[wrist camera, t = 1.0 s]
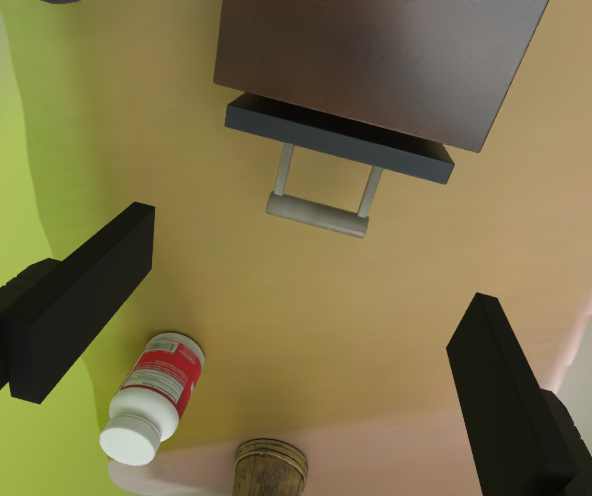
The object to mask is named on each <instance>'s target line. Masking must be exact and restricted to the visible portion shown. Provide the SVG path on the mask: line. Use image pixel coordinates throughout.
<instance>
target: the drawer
mask: <svg viewBox="0 0 592 496" xmlns="http://www.w3.org/2000/svg"><path fill="white" fill-rule="evenodd" d="M225 127H228V128H232V129H236V130H239V131H243V132H247V133H251V134H255V135H258V136H262V137H266V138H270V139H274V140H277V141H281V142H284V146H283V151H282V156H281V160H280V165H279V170H278V175H277V179H276V184H275V189H274V191H272V192H271V193H270V196H269V200H268V203H267V208H266V213H267V214H271V215H275V216H278V217H282V218H286V219H290V220H293V221H297V222H301V223H305V224H308V225H312V226H316V227H320V228H323V229H327V230H331V231H335V232H339V233H342V234H346V235H350V236H354V237H357V238H361V239H362V238H363V237H364V236H365V233H366V230H367V227H368V222H369V217H368V216H367V214H368V212H369V209H370V206H371V203H372V200H373V197H374V194H375V191H376V188H377V185H378V183H379V180H380V177H381V174H382V171H383V168H384V169H387V170H391V171H395V172H399V173H403V174H406V175H410V176H414V177H418V178H422V179H425V180H429V181H433V182H437V183H440V184H444V185H445V184H447V182H448V179H449V177H450V175H451V172H452V170H453V168H454V165H455V164H454V162H453V161H452V159H451V157H450V156H449V154H448V152H447V151H446V149H445V148H444V146H443V144H442V143H439V142H435V141H431V140H427V139H423V138H420V137H416V136H412V135H408V134H404V133H400V132H397V131H393V130H389V129H385V128H381V127H378V126H374V125H370V124H366V123H362V122H359V121H355V120H351V119H347V118H343V117H340V116H336V115H332V114H328V113H324V112H321V111H317V110H313V109H309V108H305V107H302V106H298V105H294V104H290V103H286V102H283V101H279V100H275V99H271V98H267V97H263V96H260V95H256V94H252V93H248V92H245V93H244V94H242V95H241V96H239V97H238V98H236V99H235V100H234V101H232V102H231V103H229V104H228V105H227V111H226V118H225ZM295 145H296V146H300V147H304V148H308V149H312V150H315V151H319V152H323V153H327V154H330V155H334V156H338V157H342V158H346V159H349V160H353V161H357V162H361V163H365V164H368V165H372V169H371V172H370V175H369V178H368V182H367V185H366V188H365V191H364V194H363V197H362V200H361V203H360V206H359V209H358V212H357V213H354V212H350V211H346V210H342V209H339V208H335V207H331V206H327V205H323V204H320V203H316V202H312V201H308V200H305V199H301V198H297V197H293V196H289V195H286V194H284V190H285V186H286V181H287V177H288V172H289V168H290V164H291V159H292V155H293V150H294V146H295Z"/></svg>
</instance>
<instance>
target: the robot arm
mask: <svg viewBox="0 0 592 496" xmlns="http://www.w3.org/2000/svg"><path fill="white" fill-rule="evenodd" d="M154 220H155V207H154V206H150V205H146V204H143V203H139V202H134V203H132V204H131V205H130V206H129V207H127V208H126V209H125V210H124V211H123V212H121V213H120V214H119V215H118V216H117V217H115V218H114V219H113V220H112V221H110V222H109V223H108V224H107V225H106V226H104V227H103V228H102V229H101V230H100V231H98V232H97V233H96V234H95V235H93V236H92V237H91V238H90V239H89V240H87V241H86V242H85V243H84V244H83V245H81V246H80V247H79V248H78V249H76V250H75V251H74V252H73V253H72V254H70V255H69V256H68V257H67V258H66V259H64V260H63V261H58V260H55V259H51V258H47V259H45V260H42V261H40V262H37V263H35V264H32V265H30V266H28V267H27V268H26V269H25V270H23V271H22V272H21V273H19V274H18V275H17V277H14V278H13V279H11V280H10V281H9V282H7V283H6V285H5V286H4V285H3V286H2V287H1V288H0V390H1V389H2V388H3V387H4V386H5V384H7V383H8V382H9V386H10V392H11V397H15V398H18V399H22V400H25V401H29V402H33V403H37V404H41V403H42V401H43V400H44V399H45V398H46V397H47V395H48V394H49V393H50V392H51V391H52V389H53V388H54V387H55V386H56V384H57V383H58V382H59V381H60V380H61V378H62V377H63V376H64V375H65V373H66V372H67V371H68V370H69V369H70V367H71V366H72V365H73V364H74V363H75V361H76V360H77V359H78V358H79V357H80V355H81V354H82V353H83V352H84V351H85V349H86V348H87V347H88V346H89V344H90V343H91V342H92V341H93V340H94V338H95V337H96V336H97V335H98V334H99V332H100V331H101V330H102V329H103V328H104V326H105V325H106V324H107V323H108V321H109V320H110V319H111V318H112V317H113V315H114V314H115V313H116V312H117V311H118V309H119V308H120V307H121V306H122V304H123V303H124V302H125V301H126V300H127V298H128V297H129V296H130V295H131V294H132V292H133V291H134V290H135V289H136V288H137V286H138V285H139V284H140V283H141V281H142V280H143V279H144V278H145V277H146V275H147V274H148V273H149V272H150V271H151V269H152V253H153V237H154ZM446 350H447V354H448V358H449V362H450V366H451V370H452V374H453V378H454V382H455V386H456V390H457V394H458V398H459V402H460V406H461V410H462V414H463V418H464V422H465V426H466V430H467V434H468V438H469V442H470V446H471V450H472V454H473V458H474V462H475V466H476V470H477V474H478V478H479V482H480V486H481V490H482V494H483V496H592V457H591V455H590V453H589V451H588V449H587V447H586V445H585V443H584V441H583V440H582V439H581V436H580V433H579V432H578V430H577V428H576V426H574V422H573V420H572V418H571V416H570V414H569V412H568V410H567V408H566V407H565V406H564V405H563V403H562V402H561V401H560V400H559V399H558V398H557V397H556V396H555V394H554V393H553V392H552V391H548V390H545V389H541V388H540V387H539V385H538V382H537V380H536V378H535V376H534V374H533V372H532V370H531V368H530V366H529V364H528V361H527V359H526V357H525V355H524V353H523V351H522V349H521V347H520V345H519V342H518V340H517V338H516V336H515V334H514V332H513V330H512V328H511V326H510V324H509V321H508V319H507V317H506V315H505V313H504V311H503V309H502V307H501V305H500V303H499V300H498V298H496V297H492V296H489V295H485V294H481V293H477V292H476V294H475V296H474V298H473V299H472V301H471V303H470V305H469V307H468V309H467V310H466V312H465V314H464V316H463V318H462V320H461V321H460V323H459V325H458V327H457V329H456V331H455V332H454V334H453V336H452V338H451V340H450V342H449V343H448V345H447V347H446Z"/></svg>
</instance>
